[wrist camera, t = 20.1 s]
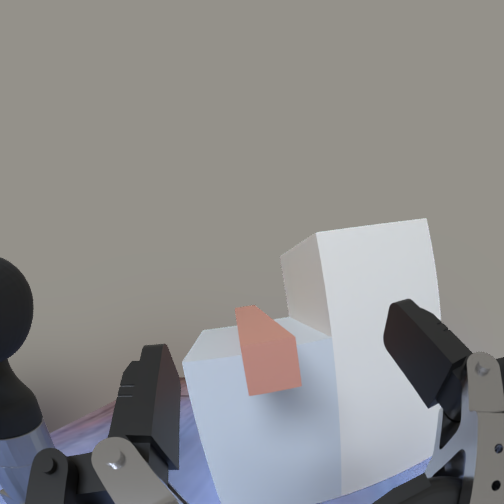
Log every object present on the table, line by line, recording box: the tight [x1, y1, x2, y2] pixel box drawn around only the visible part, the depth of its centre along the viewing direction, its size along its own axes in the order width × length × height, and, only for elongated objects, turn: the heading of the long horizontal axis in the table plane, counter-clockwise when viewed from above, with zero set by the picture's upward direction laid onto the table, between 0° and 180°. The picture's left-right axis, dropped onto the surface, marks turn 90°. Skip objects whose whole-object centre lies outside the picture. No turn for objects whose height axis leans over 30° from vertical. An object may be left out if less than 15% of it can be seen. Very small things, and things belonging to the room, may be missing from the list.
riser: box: [182, 218, 441, 504], centre depth 34 cm, size 20×28×32 cm
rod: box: [235, 305, 302, 396], centre depth 28 cm, size 28×3×3 cm, turn 4°
